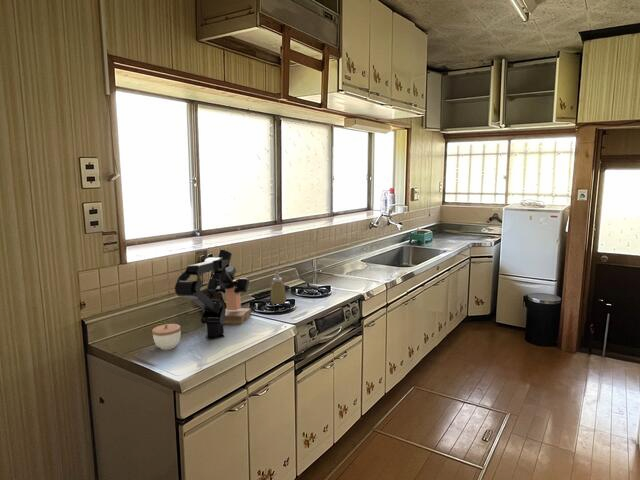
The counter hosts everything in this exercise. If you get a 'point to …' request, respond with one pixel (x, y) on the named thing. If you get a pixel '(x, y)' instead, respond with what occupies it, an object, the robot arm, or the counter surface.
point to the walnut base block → (237, 315)
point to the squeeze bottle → (278, 290)
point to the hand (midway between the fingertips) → (234, 293)
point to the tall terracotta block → (232, 299)
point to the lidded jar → (167, 336)
